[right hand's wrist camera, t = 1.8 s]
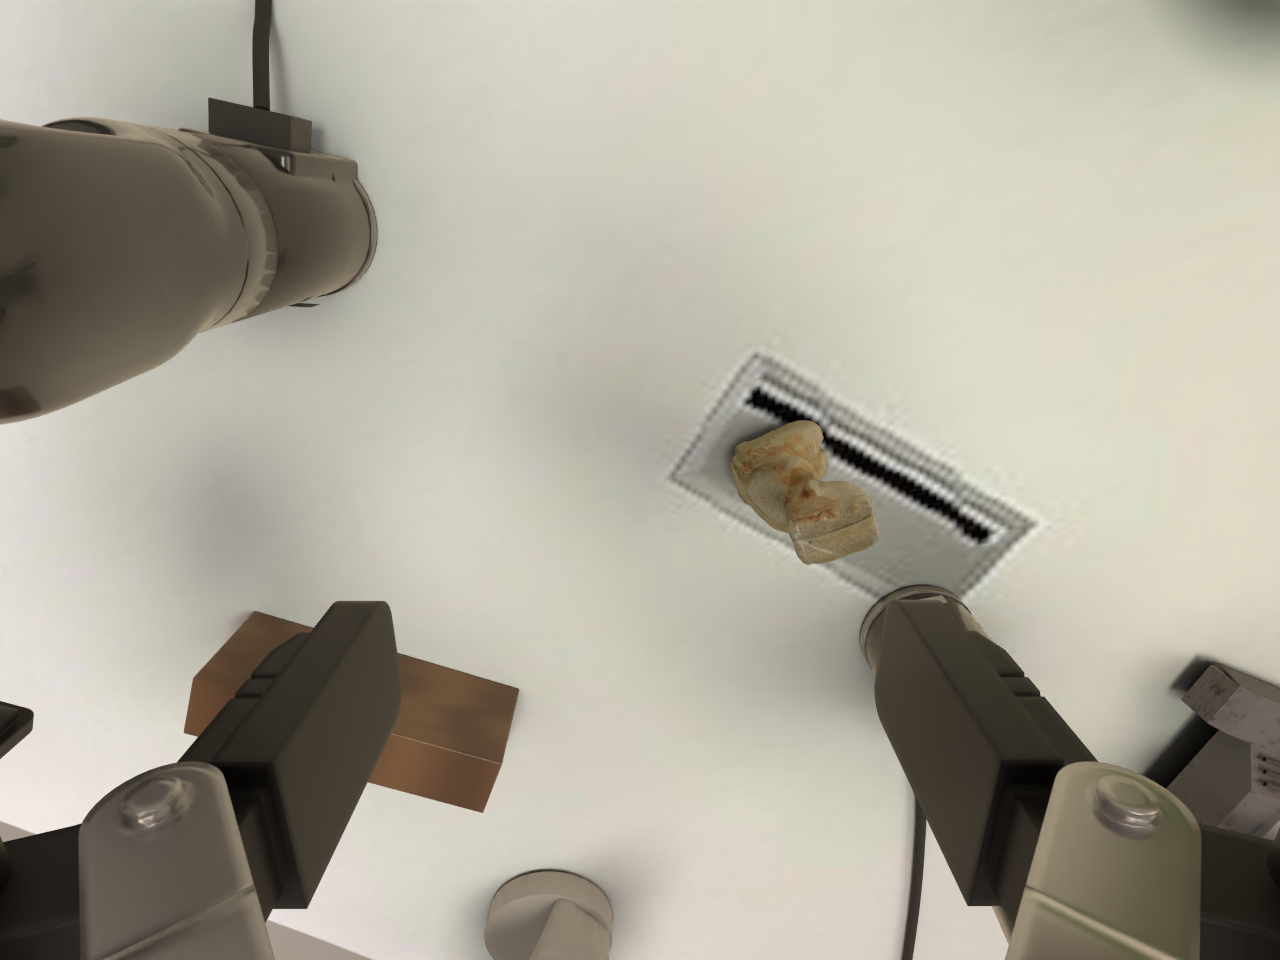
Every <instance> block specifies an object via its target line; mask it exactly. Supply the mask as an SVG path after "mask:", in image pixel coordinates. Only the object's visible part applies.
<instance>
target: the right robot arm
mask: <svg viewBox="0 0 1280 960" xmlns="http://www.w3.org/2000/svg"><path fill="white" fill-rule="evenodd" d="M860 644H861V649H862V652H863V654H864V656H865V658H866V660H867V662H868V664H869V666H870V667H871V668H872V670H873V671H874V673H875V675H876V677H875V700H876V707H877V712H878V715H879V718H880V721H881V723H882V725H883V728H884V730H885V732H886V734H887V736H888V738H889V740H890V742H891V745H892V747H893V749H894V751H895V753H896V755H897V757H898V759H899V761H900V764H901V766H902V768H903V770H904V772H905V774H906V776H907V778H908V781H909V783H910V785H911V787H912V789H913V791H914V793H915V795H916V799H917V824H916V842H915V859H914V874H913V885H912V895H911V904H910V913H909V921H908V929H907V936H906V943H905V951H904V958H903V960H912V958H913V952H914V945H915V938H916V931H917V924H918V916H919V908H920V899H921V889H922V879H923V866H924V851H925V836H926V819H927V821H928V823H929V825H930V827H931V829H932V831H933V834H934V836H935V838H936V840H937V842H938V844H939V846H940V848H941V850H942V853H943V855H944V857H945V859H946V861H947V863H948V865H949V867H950V870H951V872H952V874H953V876H954V878H955V880H956V882H957V884H958V886H959V889H960V891H961V893H962V895H963V897H964V899H965V901H966V903H967V906H992V908H993V910H994V912H995V914H996V917H997V919H998V921H999V924H1000V926H1001V928H1002V930H1003V933H1004V935H1005V937H1006V940H1007V942H1008V944H1009V947H1008V950H1007V954H1006V958H1005V960H1280V828H1279V830H1278V832H1277V835H1276V837H1275V839H1274V840H1270V839H1266V838H1261V837H1257V836H1253V835H1248V834H1244V833H1240V832H1236V831H1231V830H1227V829H1223V828H1218V827H1214V826H1210V825H1205V824H1201V823H1198V822H1197V820H1196V819H1195V817H1194V816H1193V814H1192V813H1191V812H1190V810H1189V809H1188V808H1187V807H1186V806H1185V805H1184V804H1183V803H1182V802H1181V801H1180V800H1179V799H1178V798H1177V797H1176V796H1175V795H1173V794H1172V793H1171V792H1169V791H1168V790H1167V789H1165V788H1164V787H1162V786H1161V785H1159V784H1157V783H1156V782H1154V781H1152V780H1150V779H1148V778H1147V777H1145V776H1143V775H1140V774H1138V773H1136V772H1133V771H1131V770H1128V769H1125V768H1122V767H1119V766H1115V765H1111V764H1107V763H1100V762H1098V761H1097V760H1096V758H1095V757H1094V756H1093V755H1092V754H1091V752H1090V751H1089V750H1088V749H1087V748H1086V746H1085V745H1084V744H1083V743H1082V742H1081V740H1080V739H1079V738H1078V737H1077V736H1076V734H1075V733H1074V732H1073V731H1072V730H1071V728H1070V727H1069V726H1068V725H1067V724H1066V722H1065V721H1064V720H1063V719H1062V718H1061V716H1060V715H1059V714H1058V713H1057V712H1056V710H1055V709H1054V708H1053V707H1052V706H1051V704H1050V703H1049V702H1048V701H1047V700H1046V698H1045V697H1041V696H1040V691H1039V690H1038V689H1037V688H1036V686H1035V685H1034V684H1033V683H1032V682H1031V680H1030V679H1029V678H1028V677H1025V676H1024V672H1023V671H1022V670H1021V668H1020V667H1019V666H1018V665H1017V664H1016V662H1015V661H1014V660H1013V659H1012V658H1011V656H1010V655H1009V654H1008V653H1007V652H1006V650H1004V649H1003V648H1001V647H1000V646H998V645H997V644H995V643H994V642H993V641H992V640H991V639H990V637H989V636H988V635H987V634H986V632H985V631H984V630H983V629H982V627H981V626H980V625H979V624H978V622H977V621H976V620H975V619H974V617H973V616H972V614H971V612H970V611H969V610H968V608H967V607H966V606H965V605H964V603H963V602H962V601H961V600H960V599H959V598H958V597H957V596H956V595H954V594H953V593H951V592H949V591H947V590H945V589H942V588H939V587H934V586H913V587H908V588H904V589H901V590H898V591H896V592H894V593H892V594H890V595H888V596H887V597H885V598H884V599H882V600H881V601H880V602H879V603H878V604H876V605H875V606H874V608H873V609H872V610H871V611H870V612H869V614H868V615H867V617H866V619H865V621H864V623H863V626H862V629H861V635H860ZM401 696H402V684H401V676H400V669H399V662H398V655H397V648H396V641H395V635H394V628H393V621H392V615H391V610H390V607H389V605H388V604H387V603H386V602H385V601H337V602H335V603H333V605H332V606H331V607H330V608H329V609H328V611H327V612H326V613H325V614H324V616H323V617H322V618H321V620H320V621H319V622H318V623H317V625H316V626H315V627H314V629H313V630H312V631H311V632H299V633H298V634H296V635H295V636H293V637H292V638H290V639H289V640H287V641H286V642H284V643H283V644H281V645H280V646H278V647H276V648H275V649H273V650H272V651H270V652H269V654H268V655H267V656H266V657H265V658H264V659H263V661H262V662H261V663H260V664H259V665H258V667H257V668H256V669H255V670H254V671H253V673H252V674H251V678H250V679H247V680H246V681H245V682H244V683H243V684H242V686H241V687H240V688H239V689H238V690H237V692H236V693H235V697H234V699H230V700H229V701H228V702H227V703H226V705H225V706H224V707H223V708H222V709H221V711H220V712H219V713H218V714H217V715H216V717H215V718H214V719H213V720H212V721H211V722H210V724H209V725H208V726H207V727H206V728H205V730H204V731H203V732H202V733H201V734H200V736H199V737H198V738H197V739H196V740H195V742H194V743H193V744H192V745H191V746H190V747H189V749H188V750H187V751H186V752H185V753H184V755H183V756H182V757H181V758H180V759H179V761H178V762H177V763H173V764H169V765H165V766H161V767H158V768H155V769H152V770H149V771H147V772H144V773H142V774H140V775H137V776H135V777H134V778H132V779H130V780H128V781H126V782H124V783H123V784H121V785H119V786H118V787H116V788H115V789H113V790H112V791H111V792H109V793H108V794H107V795H105V796H104V797H103V798H102V799H101V800H100V801H99V802H98V803H97V804H96V805H95V806H94V807H93V808H92V809H91V810H90V812H89V813H88V814H87V816H86V817H85V819H84V820H83V822H82V824H78V825H75V826H71V827H67V828H62V829H58V830H54V831H49V832H45V833H41V834H37V835H32V836H28V837H24V838H19V839H15V840H11V841H7V842H2V839H1V837H0V960H275V958H274V954H273V950H272V947H271V943H270V940H269V936H268V932H267V929H266V925H265V922H266V921H267V919H268V917H269V915H270V913H271V911H272V909H307V908H308V906H309V903H310V901H311V899H312V897H313V895H314V893H315V891H316V889H317V887H318V885H319V882H320V880H321V878H322V876H323V874H324V872H325V870H326V868H327V866H328V864H329V862H330V859H331V857H332V855H333V853H334V851H335V849H336V847H337V845H338V843H339V841H340V839H341V836H342V834H343V832H344V830H345V828H346V826H347V824H348V822H349V820H350V818H351V816H352V813H353V811H354V809H355V807H356V805H357V803H358V801H359V799H360V797H361V795H362V792H363V790H364V788H365V786H366V784H367V782H368V780H369V778H370V776H371V774H372V772H373V769H374V767H375V765H376V763H377V761H378V759H379V757H380V755H381V753H382V751H383V749H384V746H385V744H386V742H387V740H388V738H389V736H390V734H391V732H392V730H393V728H394V726H395V723H396V721H397V718H398V714H399V710H400V705H401Z"/></svg>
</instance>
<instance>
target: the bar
mask: <svg viewBox="0 0 1280 960" xmlns="http://www.w3.org/2000/svg"><path fill="white" fill-rule="evenodd" d="M312 630H313V628H310V627H306V626H303V625H300V624H296V623H293V622H289V621H286V620H283V619H279V618H276V617H272V616H269V615H266V614H262V613H259V612H254V613H253V614H252V615H251V616H250V617H249V618H248V619H247V620H246V621H245V622H244V623H243V625H242V626H241V627H240V628H239V629H238V630H237V631H236V632H235V633H234V634H233V635H232V637H231V638H230V639H229V640H228V641H227V642H226V643H225V644H224V645H223V646H222V647H221V648H220V650H219V651H218V652H217V653H216V654H215V655H214V656H213V657H212V658H211V659H210V660H209V662H208V663H207V664H206V665H205V666H204V667H203V668H202V669H201V670H200V671H199V672H198V673H197V675H196V676H195V677H194V678H193V683H192V688H191V694H190V700H189V705H188V711H187V717H186V723H185V728H184V733H186V734H190V735H193V736H197V737H199V736H200V734H201V733H202V732H203V731H204V730H205V728H206V727H207V726H208V725H209V724H210V722H211V721H212V720H213V719H214V718H215V717H216V715H217V714H218V713H219V712H220V711H221V709H222V708H223V707H224V706H225V705H226V703H227V702H228V701H229V700H230V699H234V697H235V693H236V692H237V690H238V689H239V688H240V687H241V686H242V684H243V683H244V682H245V681H246V680H247V679H250V678H251V674H252V673H253V671H254V670H255V669H256V668H257V667H258V665H259V664H260V663H261V662H262V661H263V659H264V658H265V657H266V656H267V655H268V654H269V652H270V651H272V650H273V649H275V648H276V647H278V646H280V645H281V644H283V643H284V642H286V641H287V640H289V639H290V638H292V637H293V636H295V635H296V634H298V633H299V632H311V631H312ZM397 655H398V662H399V669H400V676H401V684H402V696H401V705H400V710H399V714H398V718H397V721H396V723H395V726H394V728H393V730H392V732H391V734H390V736H389V738H388V740H387V742H386V744H385V746H384V749H383V751H382V753H381V755H380V757H379V759H378V761H377V763H376V765H375V767H374V769H373V772H372V774H371V776H370V778H369V780H368V782H369V783H373V784H377V785H380V786H384V787H388V788H392V789H395V790H399V791H403V792H406V793H410V794H414V795H418V796H421V797H425V798H429V799H433V800H436V801H440V802H444V803H448V804H451V805H455V806H459V807H463V808H466V809H470V810H474V811H477V812H481V813H483V811H484V809H485V806H486V804H487V801H488V799H489V796H490V793H491V791H492V788H493V786H494V783H495V781H496V778H497V775H498V773H499V770H500V768H501V765H502V762H503V757H504V753H505V749H506V744H507V740H508V736H509V731H510V727H511V723H512V719H513V714H514V710H515V706H516V701H517V697H518V693H519V689H516V688H513V687H510V686H506V685H503V684H499V683H496V682H493V681H489V680H486V679H483V678H479V677H476V676H472V675H469V674H466V673H462V672H459V671H455V670H452V669H449V668H445V667H442V666H438V665H435V664H432V663H428V662H425V661H422V660H418V659H415V658H411V657H408V656H405V655H401V654H398V653H397Z"/></svg>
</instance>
